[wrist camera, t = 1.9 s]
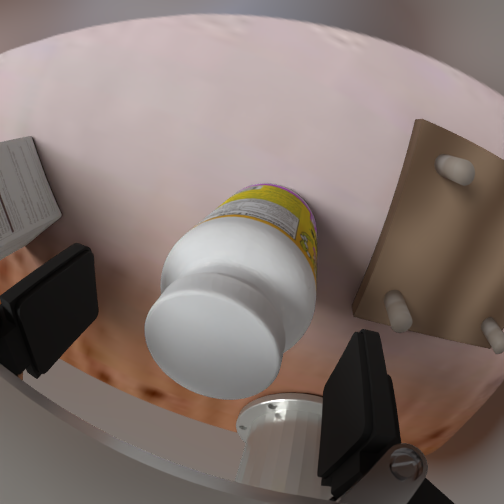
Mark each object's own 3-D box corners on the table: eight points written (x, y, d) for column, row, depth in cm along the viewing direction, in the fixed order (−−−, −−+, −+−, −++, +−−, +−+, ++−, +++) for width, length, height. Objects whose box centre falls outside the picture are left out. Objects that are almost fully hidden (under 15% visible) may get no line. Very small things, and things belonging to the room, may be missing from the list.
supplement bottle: (295, 286, 22) (265, 436, 11) (211, 251, 23) (115, 371, 11) (333, 203, 19) (353, 317, 8) (239, 165, 20) (129, 224, 8)
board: (550, 194, 15) (583, 210, 11) (484, 338, 20) (502, 371, 16) (415, 119, 16) (441, 118, 12) (351, 305, 22) (356, 343, 18)
